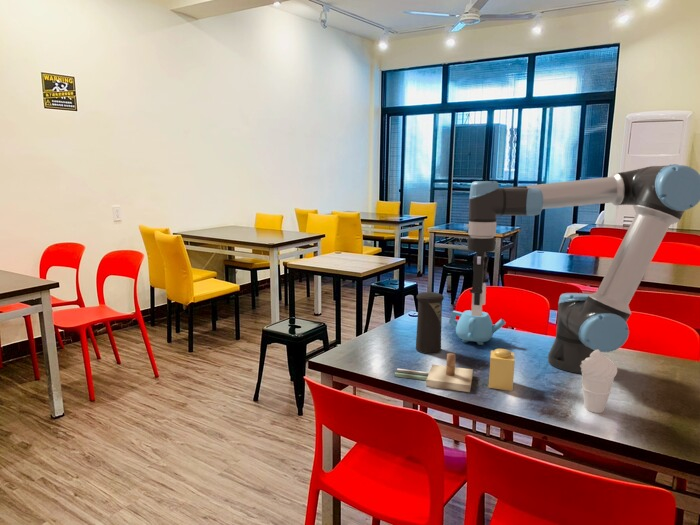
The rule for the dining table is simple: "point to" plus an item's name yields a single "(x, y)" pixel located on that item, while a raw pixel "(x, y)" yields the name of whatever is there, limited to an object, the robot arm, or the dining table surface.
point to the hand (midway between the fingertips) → (478, 309)
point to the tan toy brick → (501, 369)
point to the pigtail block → (442, 376)
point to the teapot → (474, 326)
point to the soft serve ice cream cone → (597, 380)
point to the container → (429, 322)
